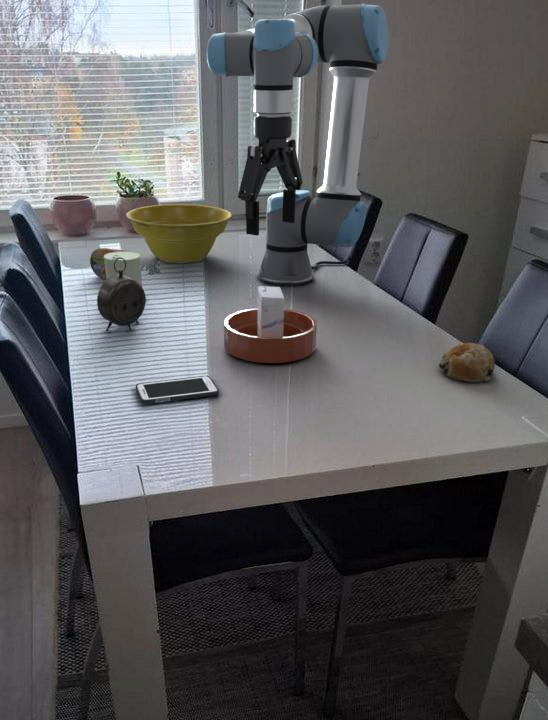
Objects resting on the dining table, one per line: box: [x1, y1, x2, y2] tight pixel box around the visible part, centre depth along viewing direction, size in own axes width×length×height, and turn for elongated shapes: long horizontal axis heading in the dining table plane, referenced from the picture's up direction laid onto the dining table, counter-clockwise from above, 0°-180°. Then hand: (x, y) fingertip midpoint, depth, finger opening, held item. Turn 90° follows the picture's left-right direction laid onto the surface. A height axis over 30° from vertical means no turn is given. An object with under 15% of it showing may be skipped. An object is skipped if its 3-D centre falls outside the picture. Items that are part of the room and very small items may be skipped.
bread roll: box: [438, 342, 496, 383], centre depth 132 cm, size 10×10×8 cm
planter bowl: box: [125, 203, 233, 264], centre depth 206 cm, size 32×32×13 cm
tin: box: [89, 247, 132, 280], centre depth 187 cm, size 15×3×8 cm, turn 68°
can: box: [104, 250, 143, 287], centre depth 169 cm, size 9×9×12 cm
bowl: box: [223, 307, 318, 364], centre depth 143 cm, size 20×20×6 cm
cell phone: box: [135, 375, 220, 405], centre depth 125 cm, size 8×15×1 cm, turn 107°
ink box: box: [257, 285, 285, 337], centre depth 141 cm, size 8×5×12 cm, turn 5°
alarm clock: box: [96, 257, 147, 333], centre depth 150 cm, size 11×5×16 cm, turn 134°
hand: (271, 228), depth 141 cm, fingers open, 13 cm apart
